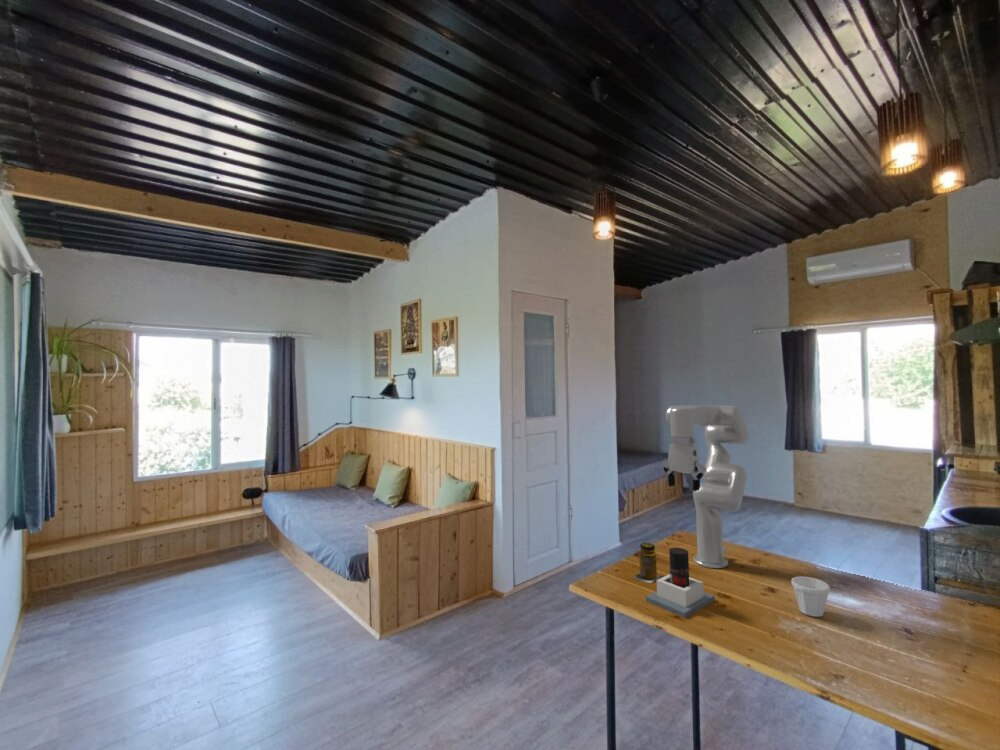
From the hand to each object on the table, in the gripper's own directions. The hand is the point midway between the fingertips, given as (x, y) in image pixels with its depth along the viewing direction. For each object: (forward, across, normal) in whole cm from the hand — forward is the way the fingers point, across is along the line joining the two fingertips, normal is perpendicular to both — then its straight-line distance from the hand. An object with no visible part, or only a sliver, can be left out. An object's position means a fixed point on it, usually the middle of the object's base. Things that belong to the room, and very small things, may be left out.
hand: (683, 488), depth 165 cm
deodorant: (+33, -6, +14) cm, 36 cm away
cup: (+34, -36, -10) cm, 51 cm away
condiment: (+35, +12, +7) cm, 37 cm away
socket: (+34, -6, +14) cm, 38 cm away
